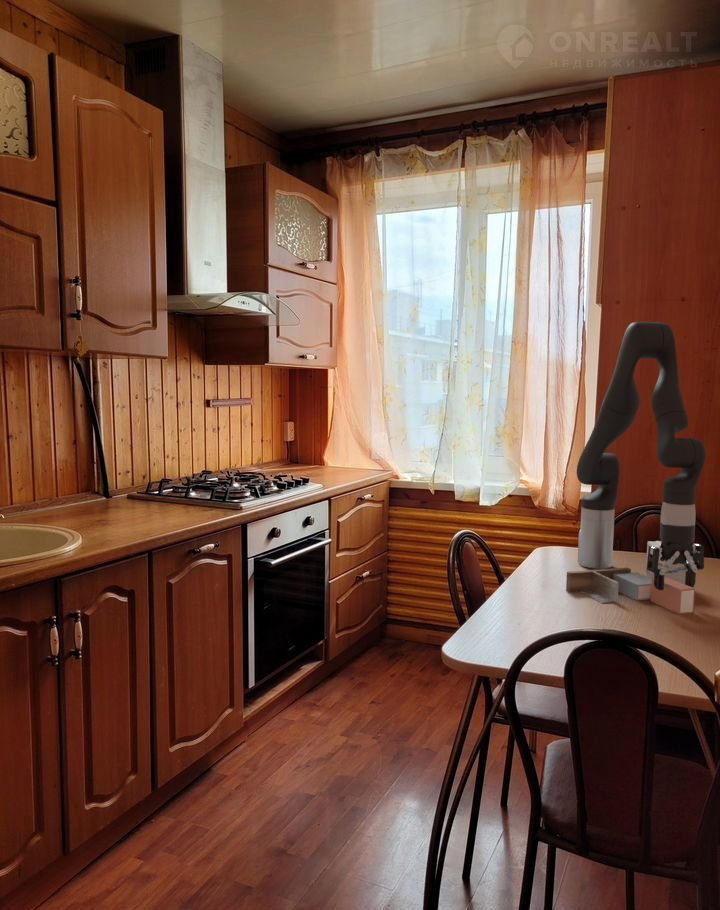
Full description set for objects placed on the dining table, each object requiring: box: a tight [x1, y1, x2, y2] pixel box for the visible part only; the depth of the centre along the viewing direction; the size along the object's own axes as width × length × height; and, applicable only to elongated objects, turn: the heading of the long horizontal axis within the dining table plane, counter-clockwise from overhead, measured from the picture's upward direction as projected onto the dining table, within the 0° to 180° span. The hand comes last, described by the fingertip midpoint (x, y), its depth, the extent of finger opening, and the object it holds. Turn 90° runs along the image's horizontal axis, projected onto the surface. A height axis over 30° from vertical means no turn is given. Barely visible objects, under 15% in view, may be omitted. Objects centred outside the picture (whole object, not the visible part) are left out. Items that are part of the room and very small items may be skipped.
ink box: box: [644, 540, 687, 584], centre depth 184 cm, size 9×8×12 cm
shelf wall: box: [565, 567, 632, 593], centre depth 183 cm, size 2×18×5 cm, turn 105°
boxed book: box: [650, 577, 696, 615], centre depth 169 cm, size 10×4×6 cm, turn 16°
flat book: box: [613, 571, 652, 601], centre depth 179 cm, size 10×7×4 cm
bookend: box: [579, 572, 619, 604], centre depth 176 cm, size 10×4×5 cm, turn 15°
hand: (674, 588), depth 168 cm, fingers open, 8 cm apart
